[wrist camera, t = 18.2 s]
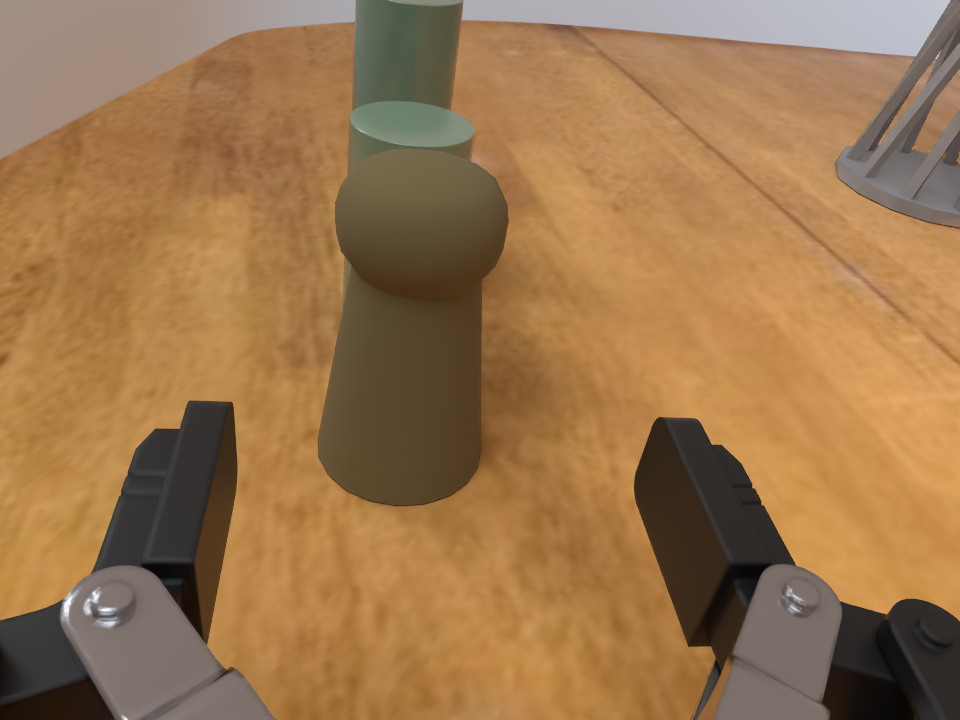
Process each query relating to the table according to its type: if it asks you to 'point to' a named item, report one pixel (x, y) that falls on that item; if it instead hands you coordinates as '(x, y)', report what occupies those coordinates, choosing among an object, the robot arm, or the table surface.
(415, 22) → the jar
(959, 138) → the grey lattice tower
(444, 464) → the olive chess pawn
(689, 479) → the robot arm
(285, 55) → the table surface
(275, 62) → the table surface
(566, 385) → the table surface
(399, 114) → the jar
